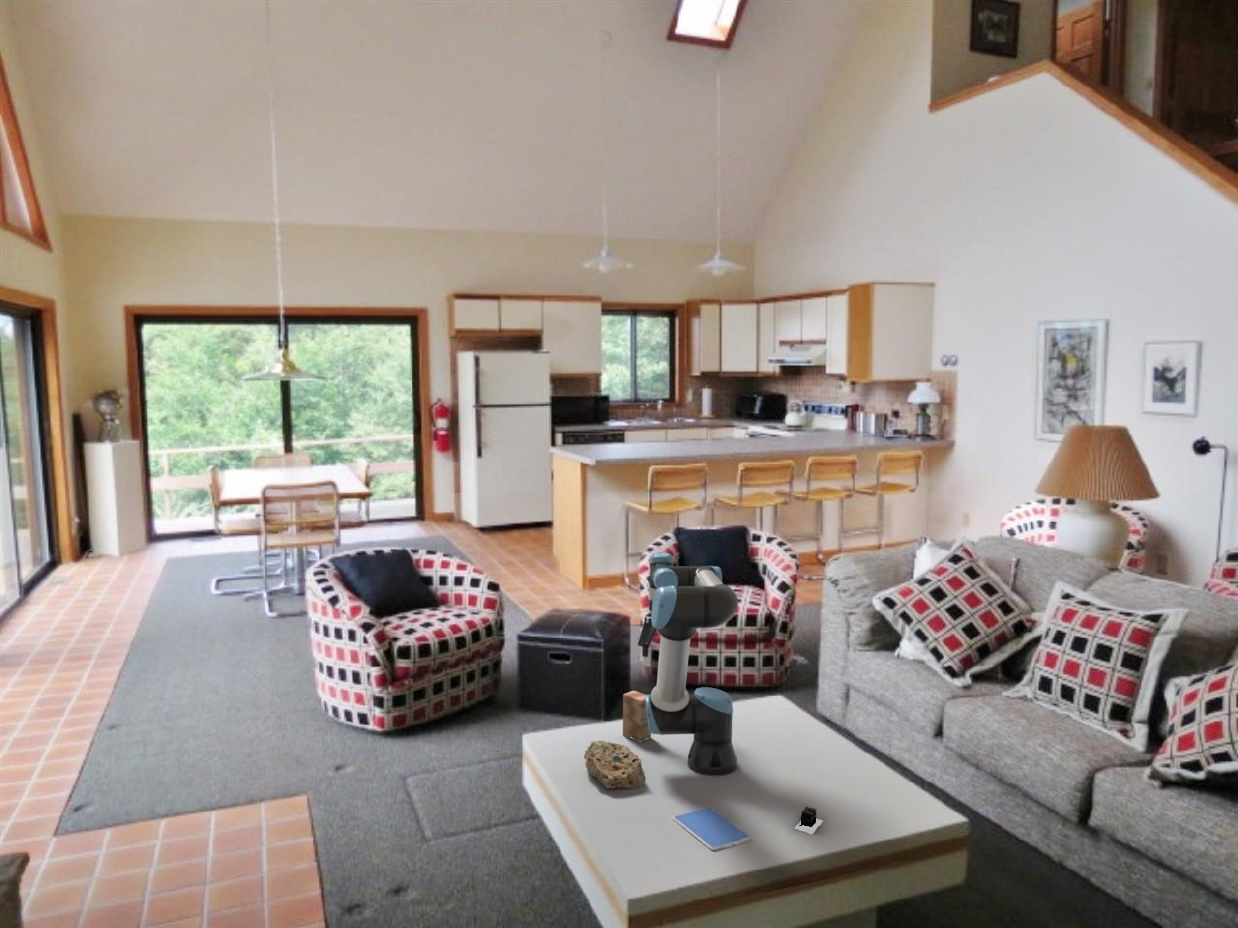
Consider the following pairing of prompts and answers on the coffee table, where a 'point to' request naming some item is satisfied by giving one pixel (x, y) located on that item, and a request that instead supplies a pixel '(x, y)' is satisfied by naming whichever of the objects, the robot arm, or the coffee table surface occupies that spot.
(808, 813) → the black block
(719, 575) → the robot arm
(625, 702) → the light brown wooden block
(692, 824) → the tablet computer
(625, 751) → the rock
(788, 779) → the coffee table surface
